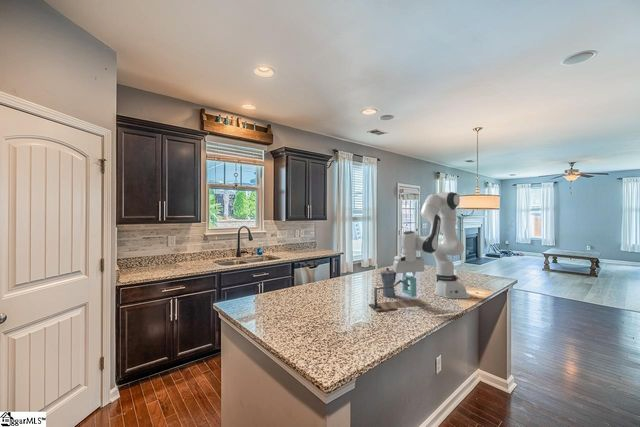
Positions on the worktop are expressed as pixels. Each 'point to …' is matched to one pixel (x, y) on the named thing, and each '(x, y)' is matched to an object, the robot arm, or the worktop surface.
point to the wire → (383, 288)
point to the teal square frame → (412, 286)
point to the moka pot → (388, 282)
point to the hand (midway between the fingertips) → (409, 279)
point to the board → (399, 305)
